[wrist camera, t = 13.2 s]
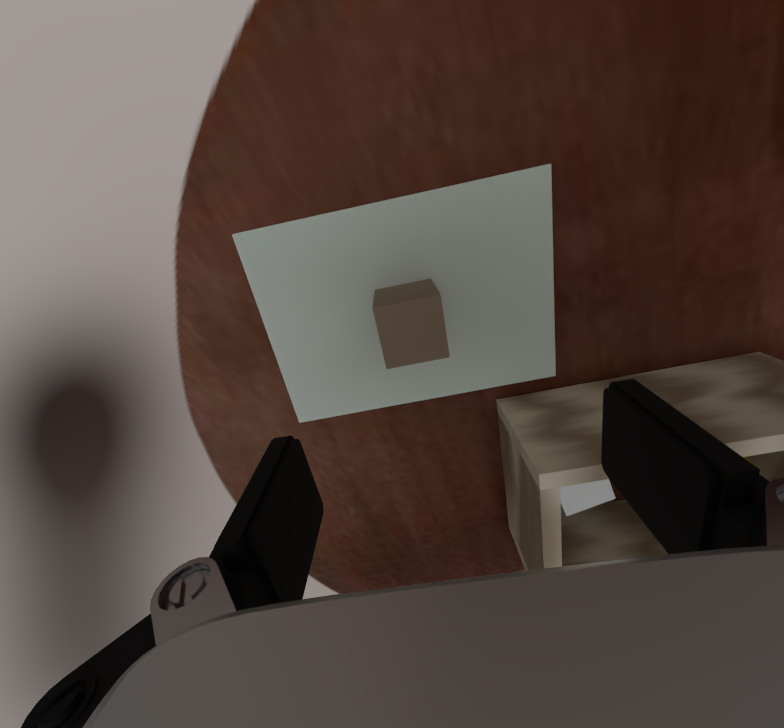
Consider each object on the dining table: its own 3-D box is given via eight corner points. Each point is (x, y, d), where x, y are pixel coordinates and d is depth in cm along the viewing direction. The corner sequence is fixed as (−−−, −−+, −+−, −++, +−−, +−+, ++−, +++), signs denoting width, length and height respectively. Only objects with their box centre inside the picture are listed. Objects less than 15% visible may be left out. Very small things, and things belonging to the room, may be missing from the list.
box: (759, 351, 28) (915, 411, 20) (728, 492, 34) (839, 585, 25) (496, 399, 29) (539, 474, 21) (508, 526, 35) (546, 625, 27)
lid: (545, 164, 23) (593, 152, 18) (551, 371, 29) (588, 408, 24) (236, 233, 25) (195, 240, 19) (301, 417, 31) (283, 461, 25)
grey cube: (577, 432, 31) (602, 462, 27) (589, 465, 32) (615, 498, 29) (532, 450, 31) (551, 482, 28) (546, 482, 33) (566, 516, 29)
